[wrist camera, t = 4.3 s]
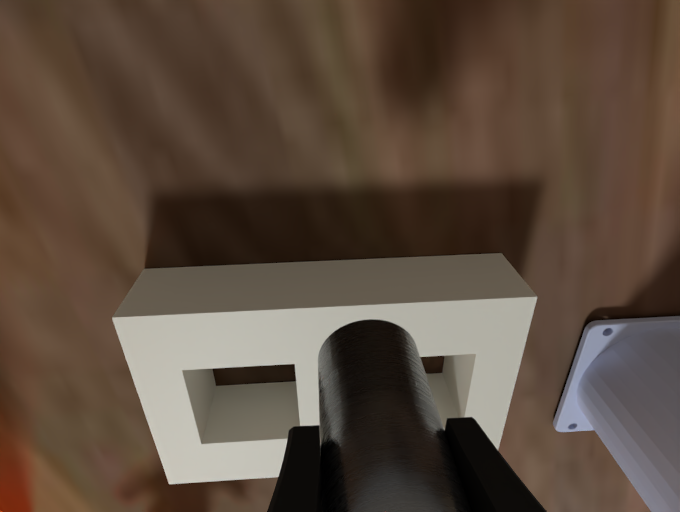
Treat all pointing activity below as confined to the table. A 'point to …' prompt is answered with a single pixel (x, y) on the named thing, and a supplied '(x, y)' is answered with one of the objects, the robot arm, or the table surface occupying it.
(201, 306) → the hole block
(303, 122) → the table surface
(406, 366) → the peg
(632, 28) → the table surface
